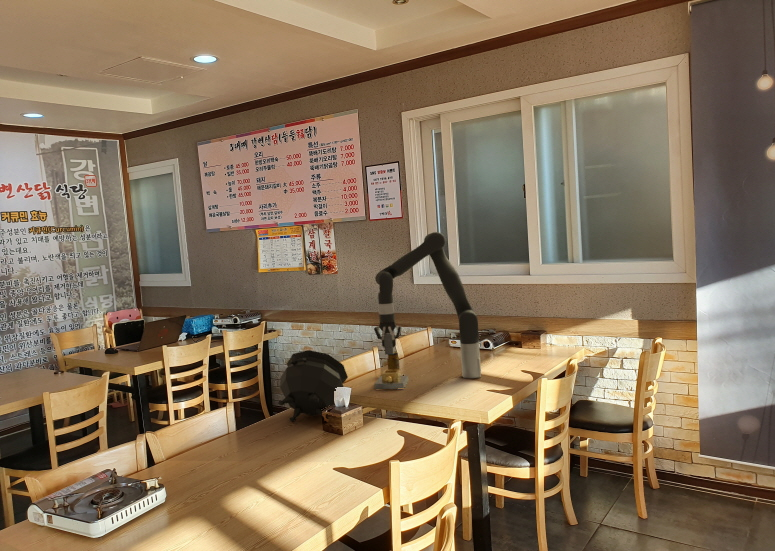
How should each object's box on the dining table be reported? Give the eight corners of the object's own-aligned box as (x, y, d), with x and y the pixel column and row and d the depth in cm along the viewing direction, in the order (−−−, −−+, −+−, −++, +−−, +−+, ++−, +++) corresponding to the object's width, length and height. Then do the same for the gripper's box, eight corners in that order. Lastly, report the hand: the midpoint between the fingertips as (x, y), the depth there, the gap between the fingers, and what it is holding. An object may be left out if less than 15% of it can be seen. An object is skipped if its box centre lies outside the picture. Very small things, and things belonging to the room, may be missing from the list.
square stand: (408, 381, 292) (407, 367, 292) (403, 389, 279) (402, 374, 278) (381, 381, 295) (380, 368, 294) (375, 389, 281) (373, 375, 281)
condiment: (395, 372, 311) (393, 350, 310) (405, 375, 305) (404, 352, 304) (384, 375, 307) (382, 353, 306) (395, 378, 300) (393, 355, 299)
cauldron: (259, 413, 241) (275, 366, 259) (319, 439, 249) (330, 392, 267) (288, 383, 224) (302, 335, 241) (351, 411, 232) (360, 363, 250)
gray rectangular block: (394, 352, 286) (392, 332, 286) (393, 354, 284) (391, 333, 283) (386, 353, 287) (384, 333, 286) (385, 354, 284) (383, 334, 284)
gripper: (402, 310, 286) (404, 345, 287) (374, 311, 289) (376, 346, 290) (399, 313, 279) (402, 348, 280) (370, 314, 281) (373, 349, 283)
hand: (389, 347), depth 285 cm, fingers closed on gray rectangular block, 4 cm apart
